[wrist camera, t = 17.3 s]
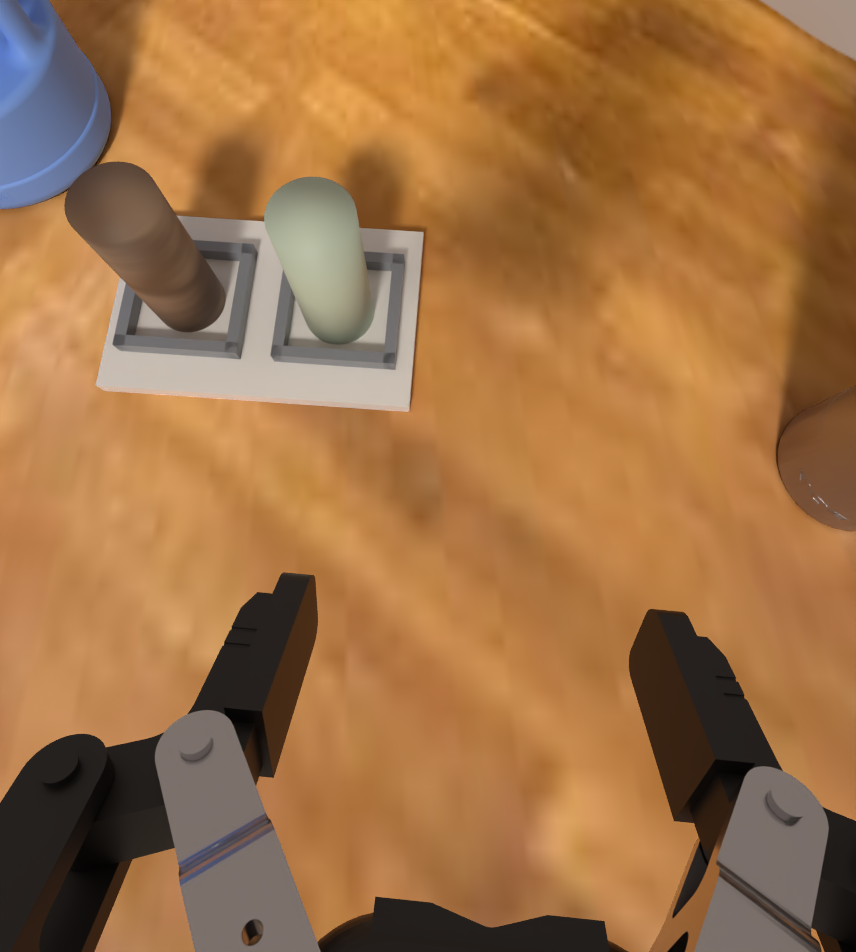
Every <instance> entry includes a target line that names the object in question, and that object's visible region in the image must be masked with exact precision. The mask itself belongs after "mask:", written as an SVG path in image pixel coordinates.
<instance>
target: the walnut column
mask: <svg viewBox="0 0 856 952" xmlns="http://www.w3.org/2000/svg"><path fill="white" fill-rule="evenodd" d="M65 214H66V217H67V220H68V222H69V223H70V225H71V226H72V227H73V229H74V230H75V231H76V232H77V233H78V234H79V235H80V236H81V237H82V238H83V239H84V240H85V241H86V242H87V243H88V244H89V245H90V246H91V247H92V248H93V249H94V250H95V251H96V253H97V254H98V255H99V256H100V257H101V258H102V259H103V260H104V261H105V262H106V263H107V264H108V265H109V266H110V267H111V268H112V269H113V270H114V271H115V272H116V273H117V274H118V275H119V277H120V278H121V279H122V280H123V281H124V282H125V283H126V284H127V285H128V286H129V287H130V288H131V289H132V290H133V291H134V292H135V293H136V294H137V295H138V296H139V297H140V298H141V299H142V301H143V302H144V303H145V304H146V305H147V306H148V307H149V308H150V309H151V310H152V311H153V312H154V313H155V314H156V315H157V316H158V317H159V318H160V319H161V320H162V321H163V322H164V323H165V324H166V325H167V326H168V327H170V328H172V329H174V330H176V331H180V332H196V331H200V330H203V329H205V328H207V327H209V326H210V325H212V324H213V323H214V322H215V321H216V320H217V319H218V318H219V317H220V315H221V313H222V312H223V309H224V306H225V301H226V296H225V291H224V288H223V286H222V284H221V283H220V281H219V280H218V278H217V277H216V275H215V274H214V272H213V270H212V269H211V267H210V266H209V264H208V263H207V261H206V260H205V258H204V257H203V255H202V254H201V252H200V251H199V249H198V248H197V246H196V244H195V243H194V241H193V240H192V238H191V237H190V235H189V234H188V232H187V231H186V229H185V228H184V226H183V225H182V223H181V221H180V220H179V218H178V217H177V215H176V214H175V212H174V211H173V209H172V208H171V206H170V205H169V203H168V202H167V200H166V199H165V197H164V195H163V194H162V192H161V191H160V189H159V188H158V186H157V185H156V183H155V182H154V180H153V179H152V177H151V176H150V175H149V174H148V173H147V172H146V171H145V170H143V169H142V168H140V167H138V166H136V165H134V164H131V163H126V162H108V163H103V164H100V165H97V166H94V167H92V168H90V169H88V170H87V171H85V172H84V173H82V174H81V175H80V176H79V177H78V178H77V179H76V180H75V181H74V182H73V184H72V185H71V187H70V188H69V190H68V192H67V195H66V198H65Z"/></svg>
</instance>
